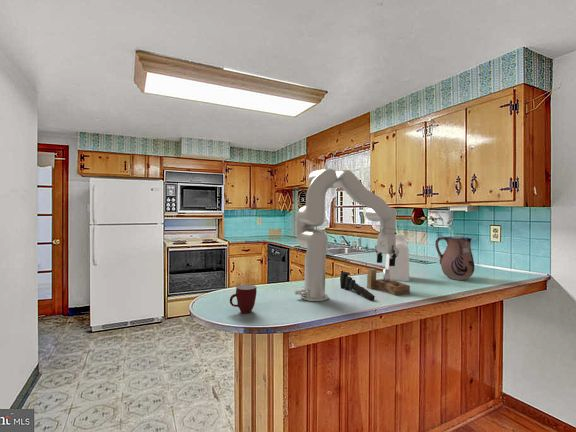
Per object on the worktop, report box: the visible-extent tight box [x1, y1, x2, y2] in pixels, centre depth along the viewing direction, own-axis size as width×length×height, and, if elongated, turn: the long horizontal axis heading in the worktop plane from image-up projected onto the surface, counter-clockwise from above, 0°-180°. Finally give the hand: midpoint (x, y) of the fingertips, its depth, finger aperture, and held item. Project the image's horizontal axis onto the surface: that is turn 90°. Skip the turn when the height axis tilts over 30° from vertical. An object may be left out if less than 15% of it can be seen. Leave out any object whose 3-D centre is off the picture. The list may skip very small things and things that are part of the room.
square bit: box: [366, 268, 377, 290], centre depth 166 cm, size 3×3×10 cm
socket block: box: [376, 278, 411, 296], centre depth 162 cm, size 16×9×4 cm, turn 23°
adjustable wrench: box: [339, 271, 376, 302], centre depth 156 cm, size 8×3×25 cm
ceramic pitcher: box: [435, 236, 475, 281], centre depth 192 cm, size 18×21×25 cm
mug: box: [229, 284, 258, 314], centre depth 126 cm, size 10×8×10 cm
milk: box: [384, 234, 410, 282], centre depth 190 cm, size 12×12×26 cm
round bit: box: [382, 268, 390, 282], centre depth 166 cm, size 3×3×10 cm
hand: (385, 264), depth 165 cm, fingers open, 9 cm apart
